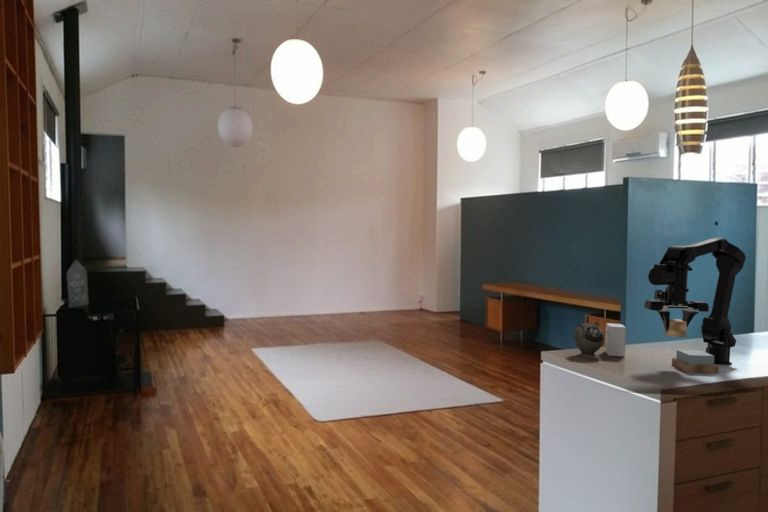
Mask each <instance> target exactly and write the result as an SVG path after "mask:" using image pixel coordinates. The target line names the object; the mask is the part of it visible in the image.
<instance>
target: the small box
mask: <svg viewBox="0 0 768 512" xmlns="http://www.w3.org/2000/svg"><path fill="white" fill-rule="evenodd" d="M626 335H627V327H626V326H625V325H624V324H622V323H609V322H606V323H605V335H604V352H605V353H606V355H607V356H610V357H626V342H627V341H626V340H627V339H626Z"/></svg>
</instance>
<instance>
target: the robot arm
mask: <svg viewBox="0 0 768 512" xmlns="http://www.w3.org/2000/svg"><path fill="white" fill-rule="evenodd" d="M707 254H711V256H712V257H714V259H715V266H716V268H717V271H718V279H717V284H716V288H715V293H714V298H713V303H712V306H711V307H712V308H711V312H710V305H709V304H708V302H707V301H706V302H705V301H701V300H690V301H689V300H687V297H688V296H687V294H688V292H689V291H690V290H689V288H688V277H689V276H688V275H689V274H688V273H689V272H692V271H694V270H693V268H692V267H691V266H690V265H689V264H691V263H692V262H694V261H695V260H696V259H697V258H698V257H701V256H704V255H707ZM746 257H747V256H746V254H745V253H744V251H743V250H742V249H741V248H740V247H738V246H736V245H735V244H732V243H730V242H729V241H728V240H727V239H726V238H724V237H711V238H709V239H706V240H703V241H700V242H696V243H693V244H689V245H670V246H668V247H667V250H666V251H665V253H664V254H663V257H662V258H661V260H660V261H659V263H654V264H653V267H652V268H651V269H650V270H649V271H648V275H647V278H648V281H649V283H650V284H651V285H652V286H665V290H664V291H663V290H662V289H655V290H654V299H646V300H645V302H644V305H643V306H644V308H645V309H646V310H649V311H654V312H657V313H658V314H659V316H660V319H661V321H662V325H663V329H664V328H665V331H667V332H668V329H669V319H671V318H670V315H671V312H670V311H669V309H681V312H682V320H683V321H686V322H687V326H686V329H687V328H688V326H689V325H690V323H691V321H692V320H693V318H694V317H695V316H696V315H699V312H701V313H702V312H705V313H706V312H707V313H709V312H710V314H709V315H708V316H707V317H703V318H702V324H701V326H700V329H701V335H702V341H703V343H704V344H705V343H707V346H706V347H705V352H706V353H708V354H711V355H713V356H714V364H715V365H717V364H719V365H733V363H732V361H730V358H731V357H730V356H731V348H734V347H736V343H737V340H736V338H735V336H734V335H733V333H732V332H731V330H732V325H731V322H730V320H729V310H730V306H731V301H732V295H733V292H734V291H733V290H734V286H735V281H736V277H737V275H738V274H739V273H740V272H741V271H742V270H743V268H744V266H745V265H744V264H745V262H746Z"/></svg>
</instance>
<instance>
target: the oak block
mask: <svg viewBox="0 0 768 512" xmlns="http://www.w3.org/2000/svg"><path fill="white" fill-rule="evenodd" d="M686 326H687V322H686V321H683V319H680V318H670V319H669V329H668V332H667V331H665V328H664V327H663V334H664V335H665V336H667V337H670V338H672V337H673V338H674V337H675V338H686V337H687V328H686Z"/></svg>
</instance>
